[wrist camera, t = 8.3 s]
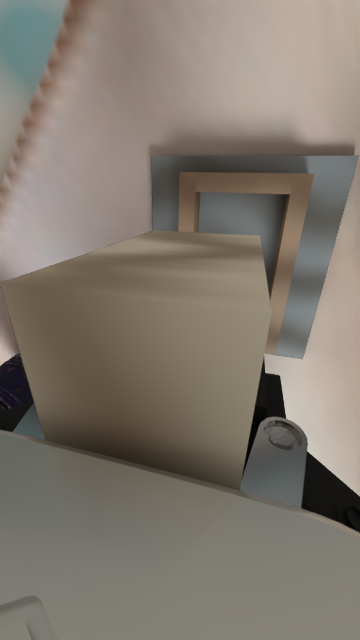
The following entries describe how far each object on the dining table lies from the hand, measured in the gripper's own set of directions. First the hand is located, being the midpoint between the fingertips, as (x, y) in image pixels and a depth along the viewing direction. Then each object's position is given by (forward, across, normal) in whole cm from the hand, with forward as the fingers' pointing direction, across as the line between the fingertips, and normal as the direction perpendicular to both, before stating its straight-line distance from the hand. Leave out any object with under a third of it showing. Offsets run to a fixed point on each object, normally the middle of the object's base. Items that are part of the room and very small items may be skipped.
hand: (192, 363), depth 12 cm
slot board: (+19, -1, 0) cm, 19 cm away
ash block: (+2, 0, 0) cm, 2 cm away
